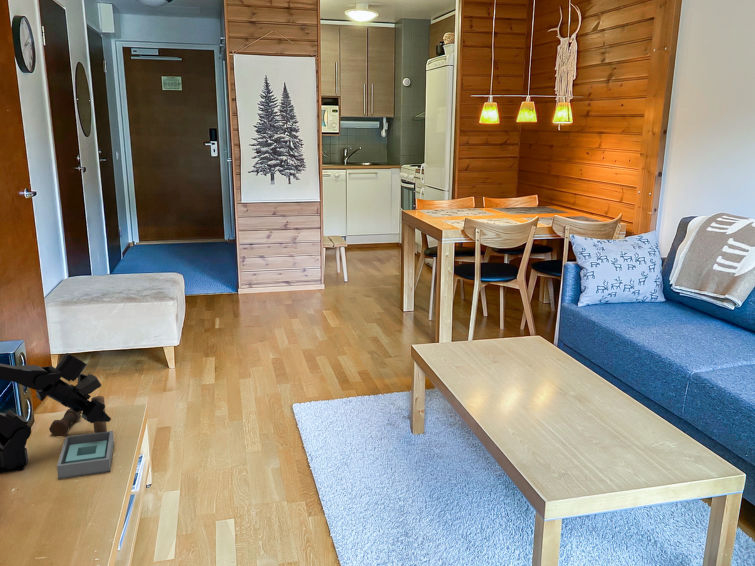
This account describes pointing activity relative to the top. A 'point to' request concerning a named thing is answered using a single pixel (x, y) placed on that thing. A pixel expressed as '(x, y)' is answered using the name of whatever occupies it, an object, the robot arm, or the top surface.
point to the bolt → (64, 423)
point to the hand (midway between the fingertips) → (103, 416)
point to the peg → (99, 425)
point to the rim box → (86, 455)
